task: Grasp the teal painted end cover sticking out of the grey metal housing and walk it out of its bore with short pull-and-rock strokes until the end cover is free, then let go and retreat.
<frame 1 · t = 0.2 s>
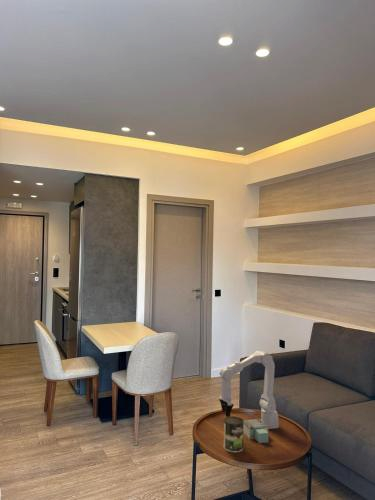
hand: (226, 413, 211), 10 cm above the table, fingers open, 7 cm apart
housing: (254, 434, 207), on the table
end cover: (259, 433, 202), point 3 cm above the table, slide at 0.0 cm
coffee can: (233, 448, 191), on the table
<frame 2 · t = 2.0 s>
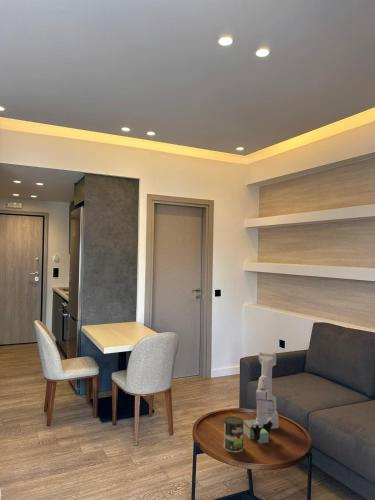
hand: (262, 438, 199), 2 cm above the table, fingers open, 7 cm apart
end cover: (259, 434, 202), point 3 cm above the table, slide at 0.3 cm, touching gripper
everything else where it was.
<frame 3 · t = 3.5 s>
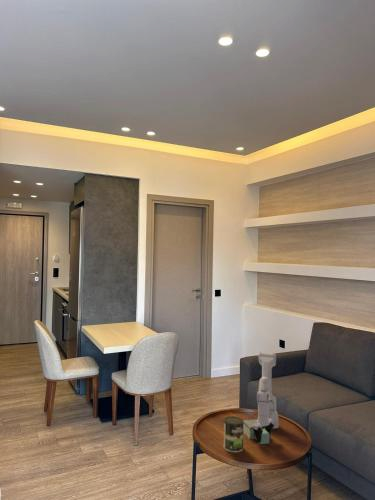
hand: (263, 439, 198), 1 cm above the table, fingers open, 7 cm apart
end cover: (260, 434, 201), point 3 cm above the table, slide at 1.2 cm, touching gripper
everything else where it was.
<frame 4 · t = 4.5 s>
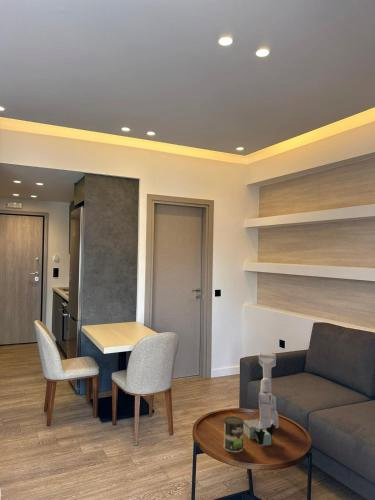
hand: (265, 441, 196), 1 cm above the table, fingers open, 7 cm apart
end cover: (262, 436, 199), point 3 cm above the table, slide at 3.1 cm, touching gripper
everything else where it was.
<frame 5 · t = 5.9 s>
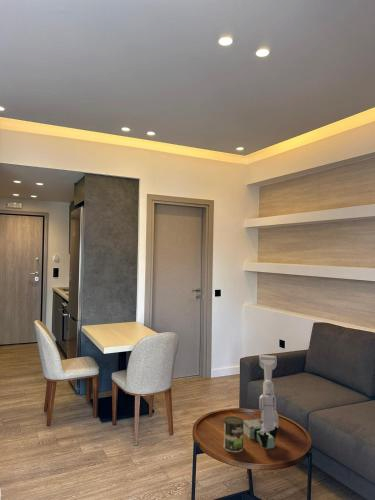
hand: (268, 444, 192), 1 cm above the table, fingers open, 7 cm apart
end cover: (265, 438, 196), point 3 cm above the table, slide at 6.4 cm, touching gripper
everything else where it was.
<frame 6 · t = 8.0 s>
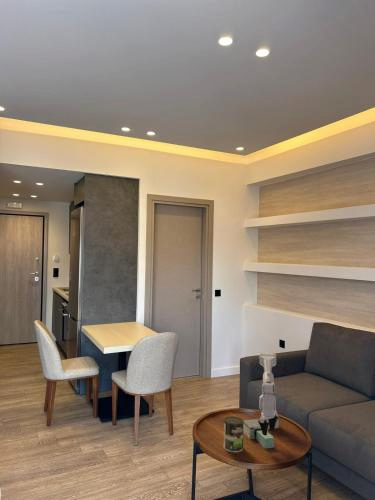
hand: (268, 432, 193), 8 cm above the table, fingers open, 7 cm apart
end cover: (264, 438, 196), point 3 cm above the table, slide at 6.0 cm
everything else where it was.
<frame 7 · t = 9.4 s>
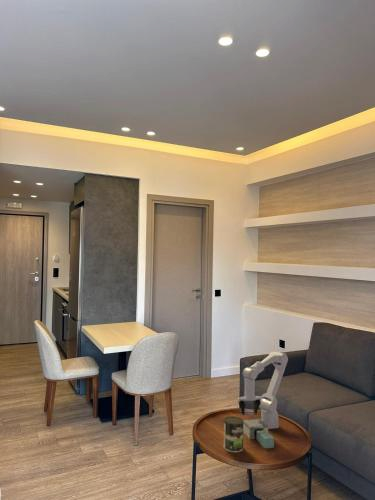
hand: (249, 413, 210), 10 cm above the table, fingers open, 7 cm apart
nothing on the table moved.
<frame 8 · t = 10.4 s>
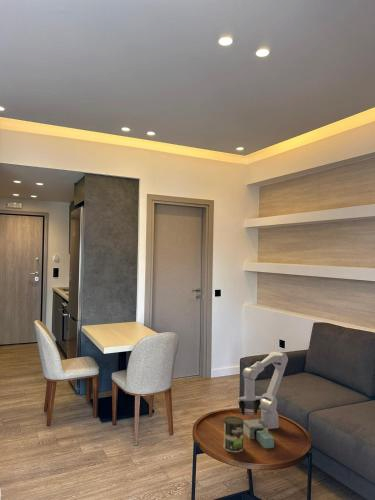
hand: (249, 413, 210), 10 cm above the table, fingers open, 7 cm apart
nothing on the table moved.
at the end: end cover slide at 6.0 cm; the gripper is holding nothing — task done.
